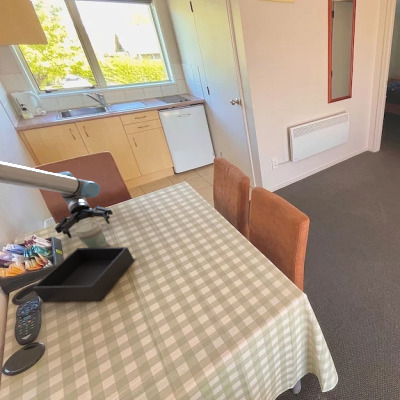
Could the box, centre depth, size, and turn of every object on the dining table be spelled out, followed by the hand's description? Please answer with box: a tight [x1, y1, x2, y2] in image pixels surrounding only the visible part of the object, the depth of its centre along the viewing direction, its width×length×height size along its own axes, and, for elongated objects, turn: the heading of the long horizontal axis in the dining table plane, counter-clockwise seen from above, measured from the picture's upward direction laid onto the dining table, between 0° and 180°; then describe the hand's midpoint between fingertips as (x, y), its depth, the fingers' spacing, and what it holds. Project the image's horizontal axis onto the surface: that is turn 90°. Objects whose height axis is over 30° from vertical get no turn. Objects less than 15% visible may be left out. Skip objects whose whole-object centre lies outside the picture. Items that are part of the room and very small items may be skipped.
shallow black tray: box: [31, 246, 135, 303], centre depth 98 cm, size 20×20×7 cm
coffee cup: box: [75, 221, 109, 248], centre depth 111 cm, size 9×9×12 cm
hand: (88, 227), depth 114 cm, fingers open, 13 cm apart
